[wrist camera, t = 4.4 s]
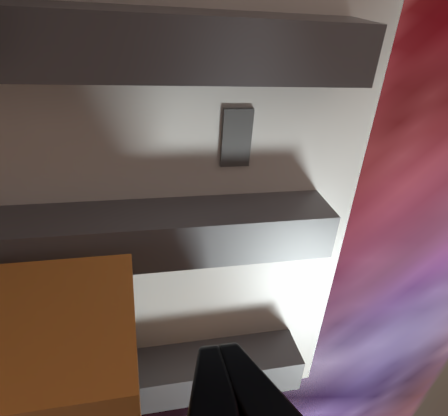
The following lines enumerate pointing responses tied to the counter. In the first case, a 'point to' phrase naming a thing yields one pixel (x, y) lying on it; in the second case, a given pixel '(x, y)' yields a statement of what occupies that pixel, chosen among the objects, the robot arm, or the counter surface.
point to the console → (193, 162)
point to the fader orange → (68, 338)
